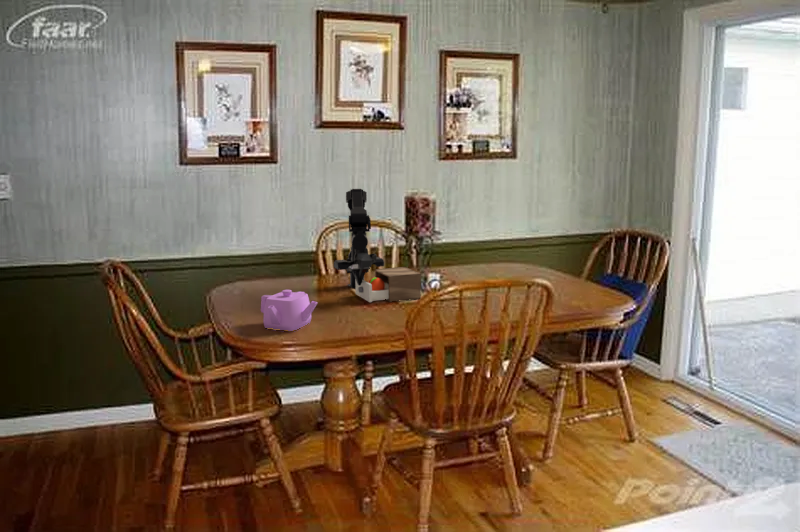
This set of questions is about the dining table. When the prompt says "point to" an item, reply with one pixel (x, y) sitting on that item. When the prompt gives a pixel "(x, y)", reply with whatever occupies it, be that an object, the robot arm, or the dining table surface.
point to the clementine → (377, 284)
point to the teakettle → (287, 310)
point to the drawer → (371, 292)
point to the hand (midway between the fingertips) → (359, 285)
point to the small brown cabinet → (401, 283)
